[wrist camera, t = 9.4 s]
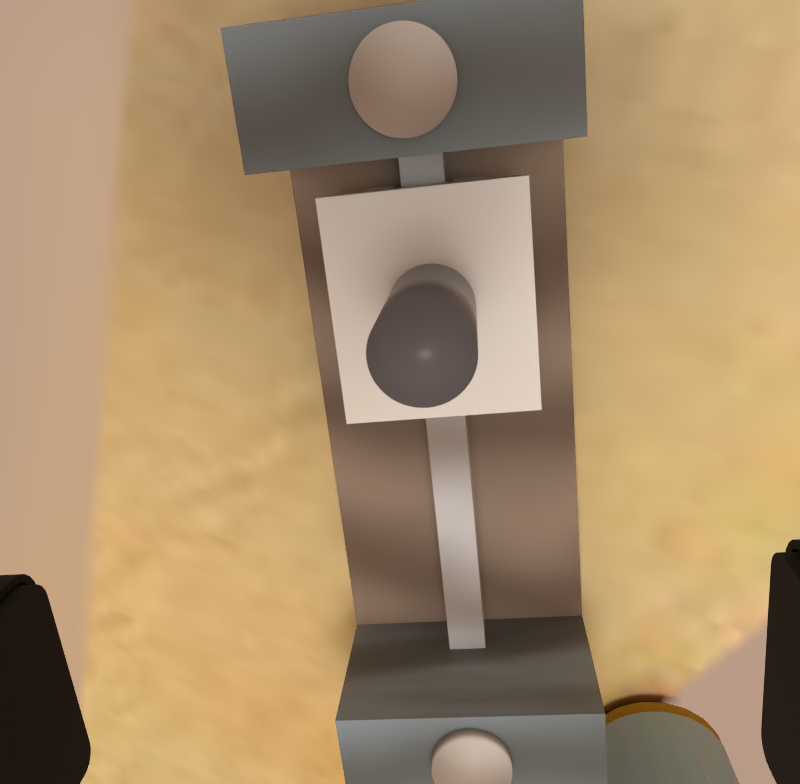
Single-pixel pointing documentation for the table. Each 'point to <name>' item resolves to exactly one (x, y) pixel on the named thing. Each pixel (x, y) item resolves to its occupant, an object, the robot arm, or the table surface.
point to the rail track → (457, 435)
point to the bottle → (663, 747)
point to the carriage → (433, 298)
